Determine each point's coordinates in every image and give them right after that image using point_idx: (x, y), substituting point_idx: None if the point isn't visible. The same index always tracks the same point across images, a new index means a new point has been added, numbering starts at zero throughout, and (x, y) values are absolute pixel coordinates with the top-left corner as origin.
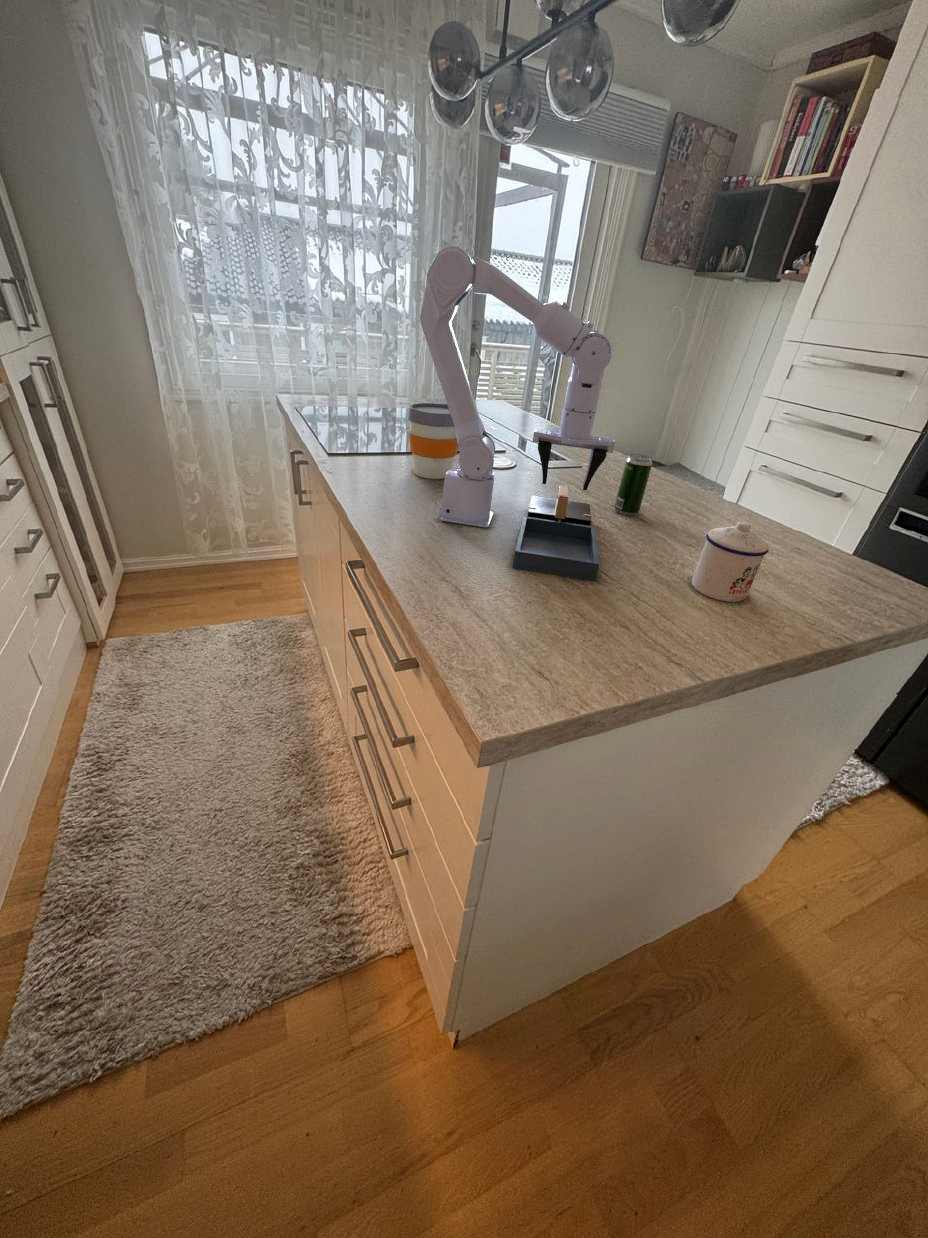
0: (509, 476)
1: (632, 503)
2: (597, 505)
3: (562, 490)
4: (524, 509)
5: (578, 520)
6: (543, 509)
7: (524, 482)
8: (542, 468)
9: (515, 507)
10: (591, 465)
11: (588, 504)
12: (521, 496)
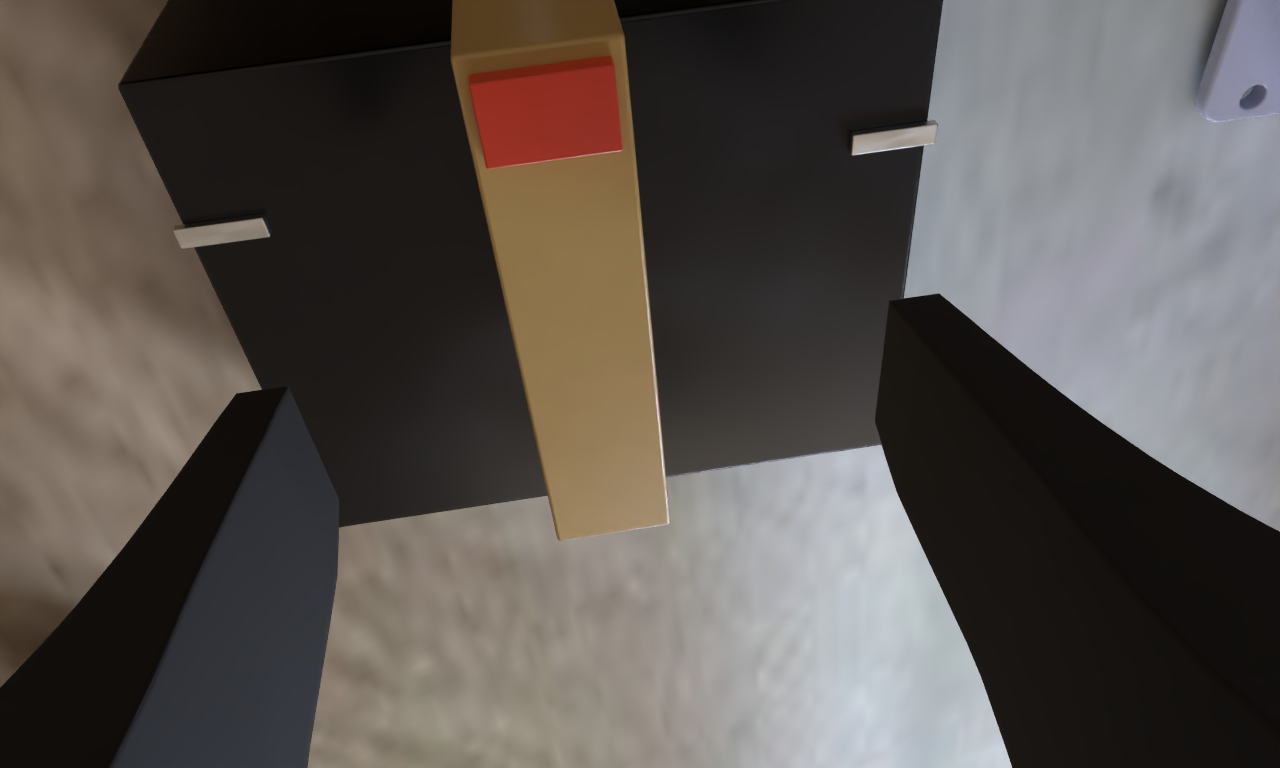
0: (964, 752)
1: None
2: (352, 669)
3: (609, 369)
4: None
5: (285, 51)
6: (759, 148)
7: (874, 729)
8: (1119, 435)
9: None
10: (77, 756)
11: None
12: (898, 557)
